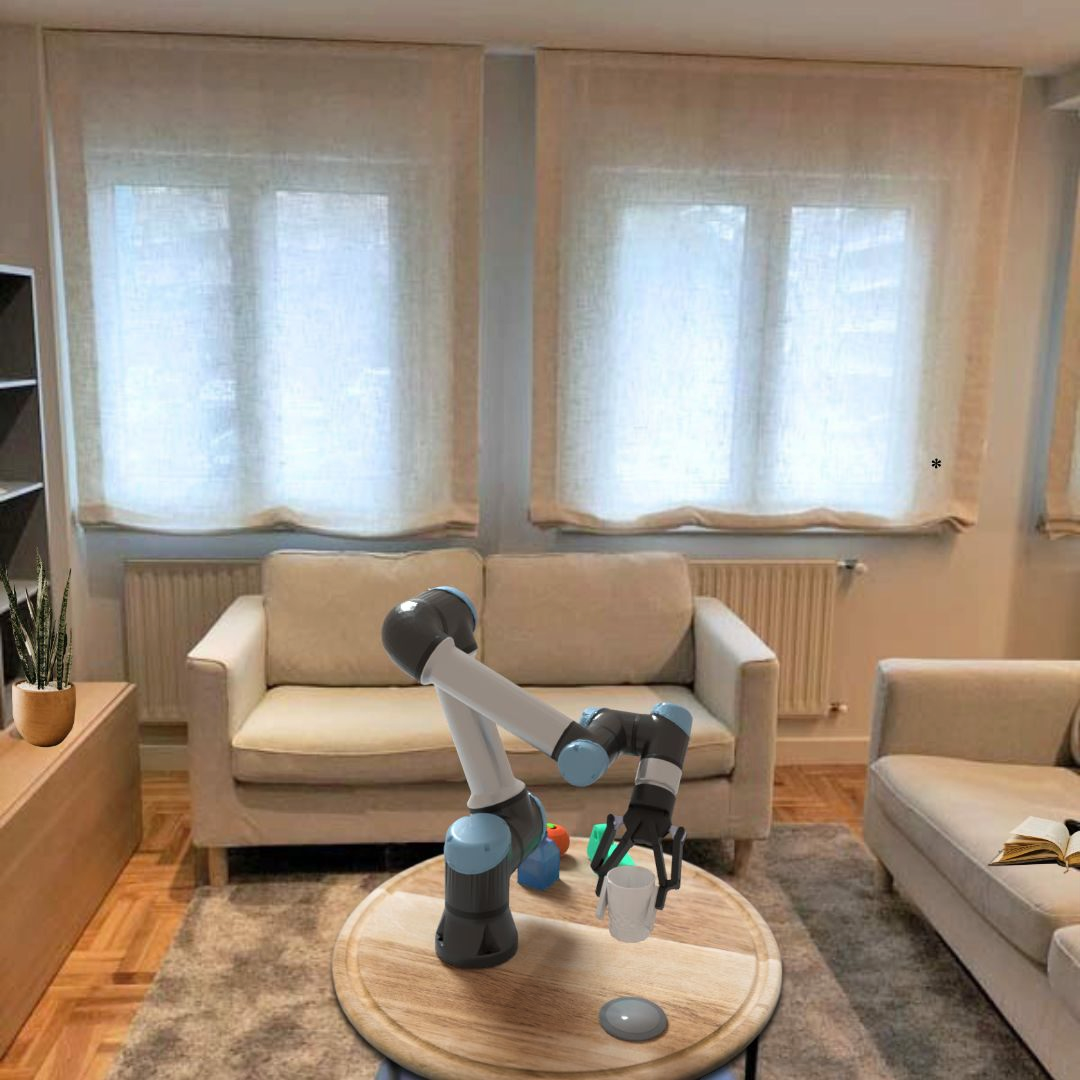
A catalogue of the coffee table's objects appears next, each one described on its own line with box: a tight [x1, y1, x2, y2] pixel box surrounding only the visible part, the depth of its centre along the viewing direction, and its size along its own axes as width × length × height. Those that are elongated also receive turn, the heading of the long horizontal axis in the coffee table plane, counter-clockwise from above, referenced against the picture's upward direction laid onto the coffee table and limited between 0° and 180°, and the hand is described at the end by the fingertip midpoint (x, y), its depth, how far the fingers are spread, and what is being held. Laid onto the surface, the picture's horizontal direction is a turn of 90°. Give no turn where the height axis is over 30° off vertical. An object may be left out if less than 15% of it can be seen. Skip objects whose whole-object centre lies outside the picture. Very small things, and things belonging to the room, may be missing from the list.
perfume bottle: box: [516, 828, 561, 892], centre depth 230 cm, size 6×6×12 cm
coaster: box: [598, 996, 667, 1042], centre depth 186 cm, size 11×11×1 cm
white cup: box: [607, 865, 656, 944], centre depth 186 cm, size 8×8×10 cm
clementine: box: [547, 822, 571, 858], centre depth 241 cm, size 8×7×7 cm
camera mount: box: [586, 823, 637, 878], centre depth 235 cm, size 12×8×10 cm, turn 14°
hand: (623, 922), depth 183 cm, fingers closed on white cup, 8 cm apart
